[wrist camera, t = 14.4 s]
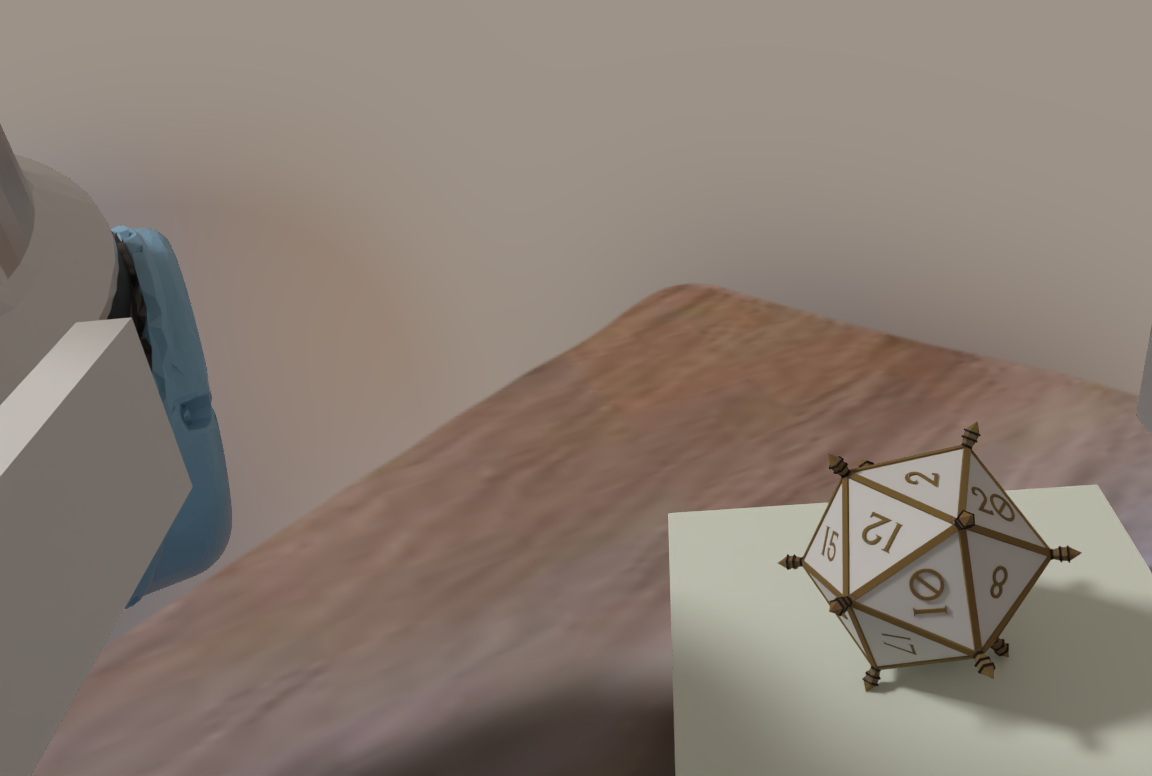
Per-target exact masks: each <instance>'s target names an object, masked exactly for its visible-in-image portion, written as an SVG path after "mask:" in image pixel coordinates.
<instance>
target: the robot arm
mask: <svg viewBox="0 0 1152 776" xmlns="http://www.w3.org/2000/svg"><path fill="white" fill-rule="evenodd" d="M211 400H212V395H211V391H210V387H209V383H208V375H207V367H206V363H205V358H204V354H203V350H202V346H201V341H200V337H199V333H198V329H197V326H196V322H195V318H194V314H193V310H192V307H191V303H190V299H189V296H188V292H187V289H186V285H185V282H184V279H183V276H182V273H181V270H180V267H179V264H178V261H177V258H176V255H175V253H174V251H173V249H172V246H171V244H170V242H169V241H168V239H167V238H166V237H165V236H164V235H162V234H161V233H160V232H158V231H157V230H153V229H150V228H134V229H130V228H128V227H125V226H122V225H120V226H117V227H115V228H110V227H109V224H108V222H107V220H106V219H105V217H104V216H103V214H102V213H101V211H100V210H99V208H98V207H97V205H96V204H95V202H94V201H93V200H92V198H91V197H90V196H89V195H88V193H87V192H86V191H85V190H83V189H82V188H81V187H80V186H79V185H77V184H76V183H75V182H74V181H73V180H71V179H70V178H68V177H67V176H65V175H63V174H61V173H60V172H58V171H56V170H54V169H53V168H51V167H48V166H46V165H44V164H41V163H39V162H36V161H34V160H32V159H29V158H25V157H22V156H18V155H15V154H14V153H13V151H12V149H11V146H10V144H9V142H8V140H7V138H6V135H5V133H4V131H3V129H2V127H1V125H0V776H31V775H32V773H33V771H34V769H35V767H36V766H37V764H38V762H39V760H40V758H41V757H42V755H43V753H44V751H45V750H46V748H47V746H48V744H49V742H50V741H51V739H52V737H53V735H54V734H55V732H56V730H57V728H58V726H59V725H60V723H61V721H62V719H63V717H64V716H65V714H66V712H67V710H68V709H69V707H70V705H71V703H72V701H73V700H74V698H75V696H76V694H77V692H78V691H79V689H80V687H81V685H82V684H83V682H84V680H85V678H86V676H87V675H88V673H89V671H90V669H91V668H92V666H93V664H94V662H95V660H96V659H97V657H98V655H99V653H100V651H101V650H102V648H103V646H104V644H105V643H106V641H107V639H108V637H109V635H110V633H111V632H112V630H113V628H114V626H115V625H116V623H117V621H118V619H119V617H120V615H121V614H122V612H123V610H124V609H126V608H129V607H131V606H133V605H134V604H135V603H137V602H138V601H140V600H141V598H142V597H143V596H145V595H147V594H150V593H152V592H155V591H157V590H160V589H163V588H165V587H168V586H170V585H173V584H175V583H178V582H181V581H183V580H186V579H188V578H191V577H193V576H196V575H198V574H200V573H202V572H204V571H205V570H207V569H208V568H210V566H212V565H213V564H214V563H215V562H216V561H217V560H218V559H219V558H220V556H221V555H222V554H223V552H224V550H225V548H226V546H227V544H228V541H229V538H230V534H231V528H232V507H231V497H230V488H229V482H228V474H227V468H226V462H225V456H224V450H223V445H222V440H221V435H220V431H219V426H218V422H217V418H216V415H215V412H214V410H213V408H212V407H211ZM1136 416H1137V417H1138V419H1139V420H1140V421H1141V423H1142V424H1143V425H1144V427H1145V428H1146V429H1147V431H1148V432H1149V433H1150V435H1151V436H1152V327H1151V333H1150V338H1149V344H1148V350H1147V355H1146V361H1145V367H1144V373H1143V378H1142V384H1141V390H1140V395H1139V401H1138V407H1137V412H1136Z"/></svg>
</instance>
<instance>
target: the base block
mask: <svg viewBox="0 0 1152 776" xmlns="http://www.w3.org/2000/svg"><path fill="white" fill-rule="evenodd" d="M1005 492H1006V493H1007V495H1008V496H1009V497H1010V498H1011V500H1012V501H1013V502H1014V503H1015V505H1016V506H1017V507H1018V509H1019V510H1020V511H1021V512H1022V514H1023V515H1024V516H1025V517H1026V519H1027V520H1028V521H1029V522H1030V524H1031V525H1032V526H1033V527H1034V529H1035V530H1036V531H1037V533H1038V534H1039V535H1040V536H1041V538H1042V539H1043V540H1044V541H1045V543H1046V544H1047V545H1048V546H1049V548H1050V549H1056V548H1059V546H1061V547H1067V545H1069V547H1071V548H1073V549H1075V550H1077V551H1080V552H1082V553H1081V554H1080V555H1078V556H1077V557H1075V558H1074V559H1072V560H1071V561H1070V563H1069V562H1068V561H1062V562H1060V561H1059V560H1055V559H1053V560H1051V561H1050V562H1049V564H1048V565H1047V567H1046V568H1045V570H1044V571H1043V573H1042V574H1041V576H1040V577H1039V579H1038V580H1037V582H1036V583H1035V584H1034V586H1033V587H1032V589H1031V590H1030V592H1029V593H1028V595H1027V596H1026V598H1025V599H1024V601H1023V602H1022V604H1021V605H1020V607H1019V608H1018V610H1017V611H1016V612H1015V614H1014V615H1013V617H1012V618H1011V620H1010V621H1009V623H1008V624H1007V626H1006V627H1005V629H1004V630H1003V632H1002V633H1001V635H1000V636H999V638H1000V639H1004V640H1005V643H1008V644H1009V651H1008V652H1009V657H1005V656H998V655H997V654H996V653H994V650H993V649H991V647H990V648H989V649H988V650H987V652H986V653H985V655H986V656H989V657H990V659H991V662H993V663H994V665H995V668H996V669H995V670H994V679H992V678H990V677H988V676H986V675H984V674H979V673H978V668H977V667H975V666H974V665H975V659H968V660H960V661H952V662H943V663H935V664H927V665H918V666H910V667H902V668H893V669H885V670H881V671H880V678H881V679H880V680H879V681H878V683H877V684H878V686H875V687H873V688H872V689H870V690H868V691H867V692H866V691H865V685H864V680H862V679H863V678H864V677H865V676H866V674H865V673H866V671H869V669H870V668H871V665H870V663H869V662H868V661H867V659H866V658H865V656H864V655H863V653H862V652H861V650H860V649H859V648H858V646H857V645H856V643H855V642H854V640H853V639H852V637H851V636H850V634H849V633H848V632H847V630H846V629H845V627H844V626H843V624H842V623H841V621H840V620H839V619H838V617H837V616H836V614H835V613H831V612H829V609H830V606H829V604H828V603H827V601H826V600H825V598H824V597H823V595H822V594H821V593H820V591H819V590H818V588H817V587H816V585H815V584H814V582H813V581H812V580H811V578H810V577H809V575H808V574H807V572H806V571H805V569H804V568H803V567H798V569H793V568H791V569H790V570H787V568H785V567H783V566H782V565H780V564H778V562H780V561H781V560H782V559H784V558H785V557H786V556H787V554H789V556H793V555H794V554H795V555H796V556H797V557H803V555H804V553H805V551H806V549H807V547H808V545H809V543H810V541H811V539H812V537H813V535H814V533H815V530H816V528H817V526H818V524H819V522H820V520H821V518H822V516H823V514H824V512H825V510H826V508H827V506H828V503H815V504H800V505H785V506H770V507H755V508H740V509H725V510H710V511H695V512H680V513H668V524H669V561H670V597H671V634H672V670H673V707H674V743H675V776H1152V572H1151V571H1150V569H1149V567H1148V566H1147V564H1146V563H1145V561H1144V559H1143V558H1142V556H1141V554H1140V553H1139V551H1138V550H1137V548H1136V546H1135V545H1134V543H1133V542H1132V540H1131V538H1130V537H1129V535H1128V533H1127V532H1126V530H1125V529H1124V527H1123V525H1122V524H1121V522H1120V521H1119V519H1118V517H1117V516H1116V514H1115V512H1114V511H1113V509H1112V508H1111V506H1110V504H1109V503H1108V501H1107V499H1106V498H1105V496H1104V495H1103V493H1102V491H1101V490H1100V488H1099V487H1098V485H1084V486H1069V487H1054V488H1039V489H1024V490H1009V491H1005Z"/></svg>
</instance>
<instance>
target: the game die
mask: <svg viewBox="0 0 1152 776" xmlns="http://www.w3.org/2000/svg"><path fill="white" fill-rule="evenodd" d="M964 430H965V433H964V436H963V435H962V437H963V443H962V444H961V445H959V446H955V447H950V448H946V449H941V450H937V451H932V452H928V453H923V454H919V455H914V456H910V457H905V458H901V459H896V460H891V461H887V462H882V463H878V464H874V463H872V462H870V461H865V460H862V461H861V465H860V466H859V468H855V469H851V470H849V469H848V467H847V465H848V464H847V463H845V462H844V461H843V460H844V459H843V458H842V457H840V456H838V457H836V456H833V455H830V454H828V455H829V462H830V466H829V469H832V470H833V471H834V474H839V475H840V476H841V479H840V481H839V483H838V485H837V487H836V489H835V491H834V493H833V495H832V497H831V499H830V501H829V503H828V506H827V508H826V510H825V512H824V514H823V516H822V518H821V520H820V522H819V524H818V526H817V528H816V530H815V533H814V535H813V537H812V539H811V541H810V543H809V545H808V547H807V549H806V551H805V553H804V555H803V557H797V556H796V555H795V554H794V555H793V556H789V554H787V556H786V557H785V558H784V559H782V560H781V561H780V562H778V564H780V565H782V566H783V567H785V568H787V570H790V569H791V568H793V569H798V567H803V568H804V569H805V571H806V572H807V574H808V575H809V577H810V578H811V580H812V581H813V582H814V584H815V585H816V587H817V588H818V590H819V591H820V593H821V594H822V595H823V597H824V598H825V600H826V601H827V603H828V604H829V606H830V609H829V612H831V613H835V614H836V616H837V617H838V619H839V620H840V621H841V623H842V624H843V626H844V627H845V629H846V630H847V632H848V633H849V634H850V636H851V637H852V639H853V640H854V642H855V643H856V645H857V646H858V648H859V649H860V650H861V652H862V653H863V655H864V656H865V658H866V659H867V661H868V662H869V663H870V665H871V668H870V669H869V671H866V673H865V674H866V676H865V677H864V678H863V679H862V680H864V685H865V691H866V692H867V691H868V690H870V689H872V688H873V687H875V686H878V684H877V683H878V681H879V680H880V679H881V678H880V671H881V670H885V669H893V668H902V667H910V666H918V665H927V664H935V663H943V662H952V661H960V660H968V659H975V665H974V666H975V667H977V668H978V673H979V674H984V675H986V676H988V677H990V678H992V679H994V670H995V669H996V668H995V665H994V663H993V662H991V659H990V657H989V656H986V655H985V653H986V652H987V650H988V649H989V648H990V647H991V649H993V650H994V653H996V654H997V655H998V656H1005V657H1009V652H1008V651H1009V644H1008V643H1005V640H1004V639H1000V638H999V636H1000V635H1001V633H1002V632H1003V630H1004V629H1005V627H1006V626H1007V624H1008V623H1009V621H1010V620H1011V618H1012V617H1013V615H1014V614H1015V612H1016V611H1017V610H1018V608H1019V607H1020V605H1021V604H1022V602H1023V601H1024V599H1025V598H1026V596H1027V595H1028V593H1029V592H1030V590H1031V589H1032V587H1033V586H1034V584H1035V583H1036V582H1037V580H1038V579H1039V577H1040V576H1041V574H1042V573H1043V571H1044V570H1045V568H1046V567H1047V565H1048V564H1049V562H1050V561H1051V560H1053V559H1055V560H1059V561H1060V562H1062V561H1068V562H1069V563H1070V561H1071V560H1072V559H1074V558H1075V557H1077V556H1078V555H1080V554H1081V553H1082V552H1080V551H1077V550H1075V549H1073V548H1071V547H1069V545H1067V547H1061V546H1059V548H1056V549H1050V548H1049V546H1048V545H1047V544H1046V543H1045V541H1044V540H1043V539H1042V538H1041V536H1040V535H1039V534H1038V533H1037V531H1036V530H1035V529H1034V527H1033V526H1032V525H1031V524H1030V522H1029V521H1028V520H1027V519H1026V517H1025V516H1024V515H1023V514H1022V512H1021V511H1020V510H1019V509H1018V507H1017V506H1016V505H1015V503H1014V502H1013V501H1012V500H1011V498H1010V497H1009V496H1008V495H1007V493H1006V492H1005V491H1004V490H1003V488H1002V487H1001V486H1000V485H999V483H998V482H997V481H996V479H995V478H994V477H993V476H992V474H991V473H990V472H989V471H988V469H987V468H986V467H985V466H984V464H983V463H982V462H981V461H980V459H979V458H978V457H977V455H976V454H975V453H974V452H973V450H972V446H973V445H974V444H975V442H978V441H977V438H978V436H980V434H979V429H978V422H976V423H974V424H973V425H971V426H970V427H968V428H967V429H964Z"/></svg>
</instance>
